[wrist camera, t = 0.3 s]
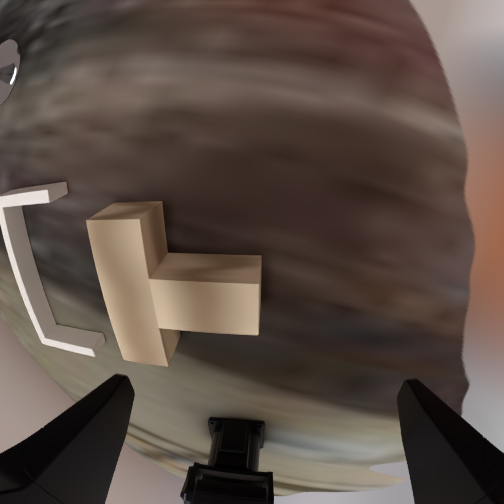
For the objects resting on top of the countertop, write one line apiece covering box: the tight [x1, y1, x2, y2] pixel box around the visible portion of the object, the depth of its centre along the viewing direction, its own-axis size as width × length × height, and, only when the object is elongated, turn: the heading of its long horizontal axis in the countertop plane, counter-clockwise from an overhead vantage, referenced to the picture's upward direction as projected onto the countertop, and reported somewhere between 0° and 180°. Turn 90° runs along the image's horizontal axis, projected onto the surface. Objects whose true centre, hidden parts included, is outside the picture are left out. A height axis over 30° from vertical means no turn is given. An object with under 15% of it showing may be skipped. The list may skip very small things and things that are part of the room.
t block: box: [86, 201, 262, 367], centre depth 21 cm, size 11×12×4 cm
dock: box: [0, 182, 105, 357], centre depth 22 cm, size 16×8×2 cm, turn 0°
